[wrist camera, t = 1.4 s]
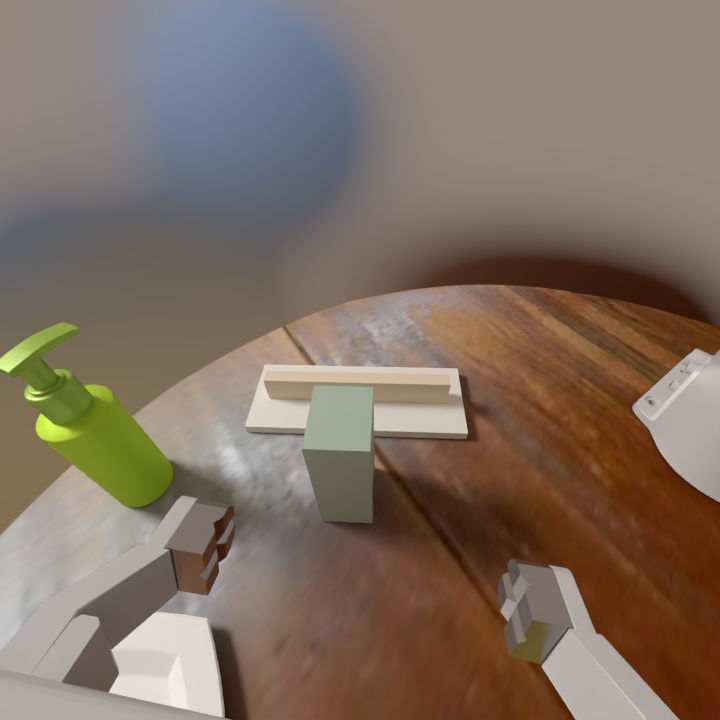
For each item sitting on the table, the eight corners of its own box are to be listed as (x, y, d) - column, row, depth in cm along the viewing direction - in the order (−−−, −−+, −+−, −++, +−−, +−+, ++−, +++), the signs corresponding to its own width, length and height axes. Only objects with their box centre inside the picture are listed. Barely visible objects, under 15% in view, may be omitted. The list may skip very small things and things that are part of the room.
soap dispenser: (191, 460, 42) (94, 329, 28) (144, 516, 38) (0, 396, 23) (153, 442, 44) (43, 311, 30) (104, 494, 40) (-52, 370, 25)
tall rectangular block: (374, 467, 41) (373, 386, 31) (372, 523, 37) (370, 451, 26) (329, 465, 41) (313, 385, 31) (322, 520, 37) (301, 449, 27)
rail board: (455, 374, 50) (461, 349, 46) (466, 439, 43) (473, 415, 39) (266, 370, 51) (259, 346, 48) (247, 431, 45) (236, 408, 41)
